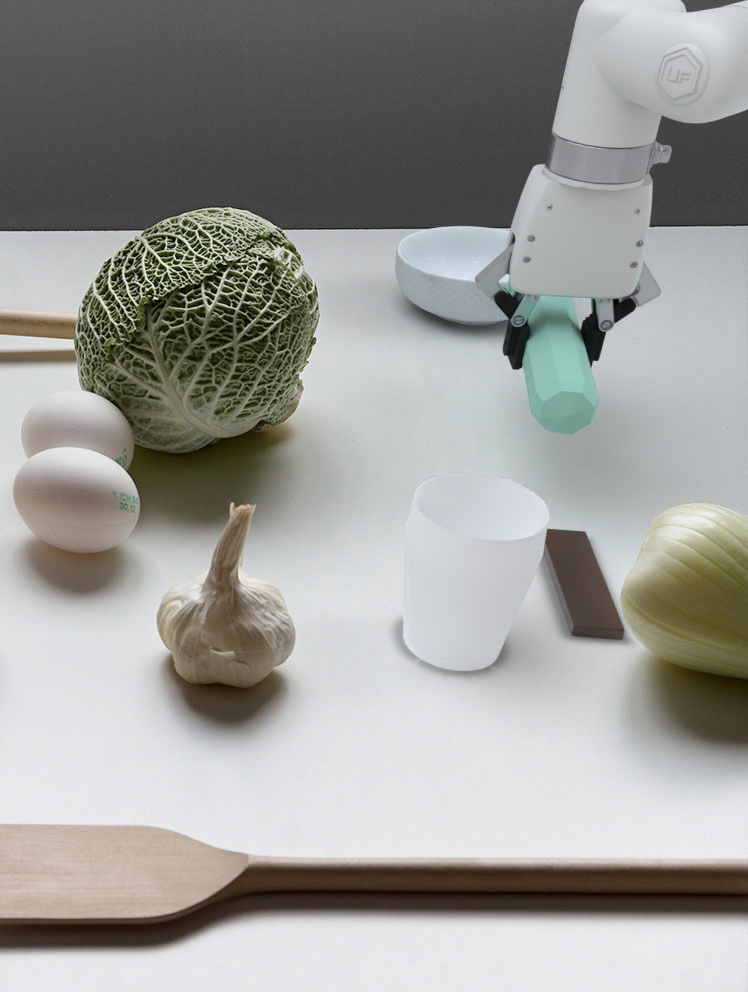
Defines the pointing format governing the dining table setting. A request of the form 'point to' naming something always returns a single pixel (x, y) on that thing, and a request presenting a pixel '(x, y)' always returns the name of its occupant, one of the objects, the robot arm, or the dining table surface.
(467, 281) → the cereal bowl
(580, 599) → the walnut strip
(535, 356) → the container
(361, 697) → the dining table surface
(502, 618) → the cup
